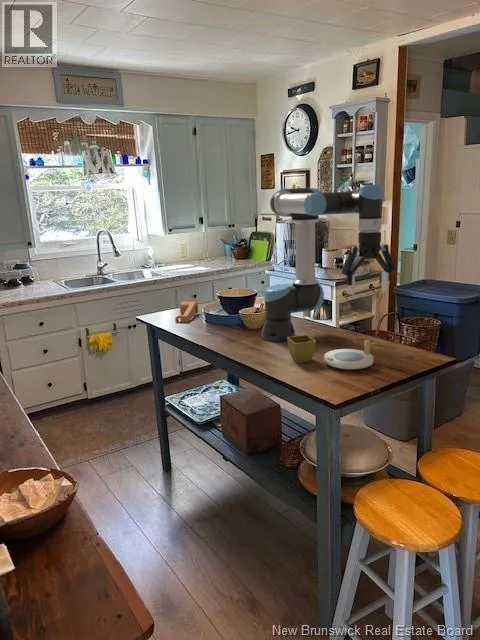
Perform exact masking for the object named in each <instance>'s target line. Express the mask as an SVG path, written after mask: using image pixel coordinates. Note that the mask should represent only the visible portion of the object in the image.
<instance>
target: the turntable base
mask: <svg viewBox="0 0 480 640" xmlns="http://www.w3.org/2000/svg"><path fill="white" fill-rule="evenodd" d="M333 368H334V369H337V370H341V371H361V370H363V369H364V368H361V369H342V368H336V367H333Z"/></svg>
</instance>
